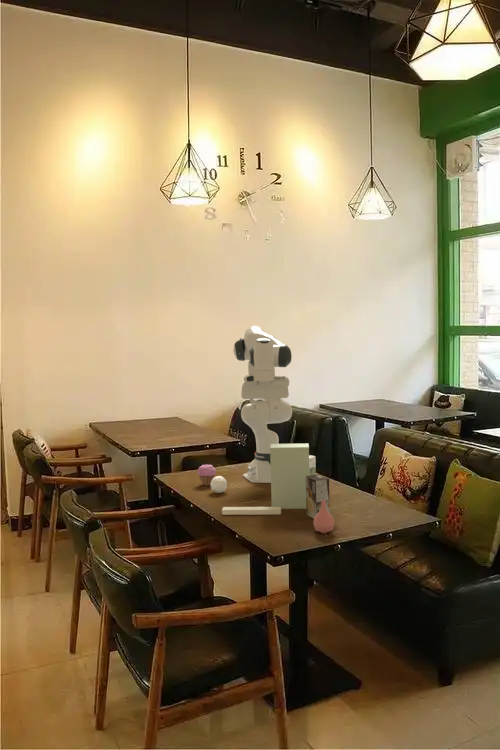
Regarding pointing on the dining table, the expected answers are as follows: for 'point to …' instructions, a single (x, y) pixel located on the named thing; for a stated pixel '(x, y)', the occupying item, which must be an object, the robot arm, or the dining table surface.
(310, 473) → the syrup box
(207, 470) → the cupcake
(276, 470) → the shelf block
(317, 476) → the coffee box
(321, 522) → the pink vase
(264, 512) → the domino bar
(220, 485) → the geometric ball
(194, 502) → the dining table surface
